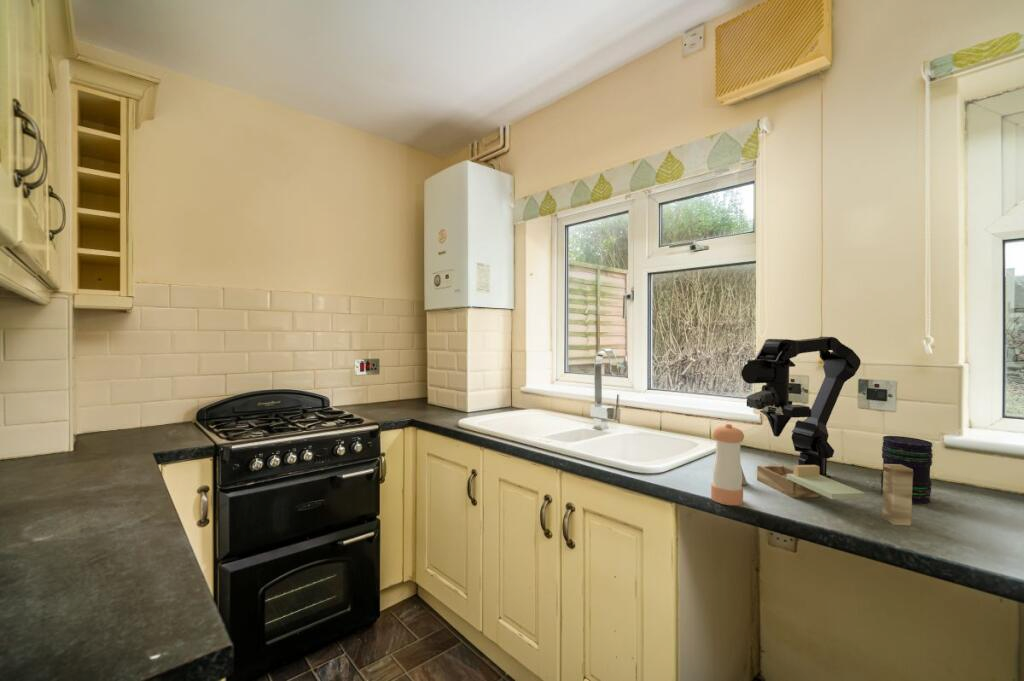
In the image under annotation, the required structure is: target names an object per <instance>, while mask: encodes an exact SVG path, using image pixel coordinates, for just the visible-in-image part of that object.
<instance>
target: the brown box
mask: <svg viewBox="0 0 1024 681" xmlns="http://www.w3.org/2000/svg"><path fill="white" fill-rule="evenodd" d="M883 470H884V472H883ZM882 472H883V495H882V500H881V501H882V502H881V503H882V505H881V508H882V509H881V518H882V519H883V520H885V521H886V522H888V523H890V524H892V525H893V526H894V525H895V526H896V525H897V526H898V525H900V526H912V507H913V506H912V505H913V504H912V483H913V469H911V468H908V467H906V466H903V465H899V464H884V466H883V465H882Z"/></svg>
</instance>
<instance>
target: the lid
mask: <svg viewBox="0 0 1024 681" xmlns="http://www.w3.org/2000/svg"><path fill="white" fill-rule="evenodd" d="M792 469H793V474H786V479H789V480H791V481H793V482H795V483H797V484H800V485H802V486H804V487H806V488H808V489H811V490H813V491H815V492H817V493H819V494H821V496H824V497H826V498H828V499H830V500H842V499H843V500H846V499H847V500H848V499H849V500H850V499H865V496H866V493H865V492H863V491H861V490H858V489H856V488H853V487H851V486H849V485H847V484H844V483H842V482H839V481H836V480H833V479H832V478H830V477H828V478H827V477H824V476H822V475H819V472H820V467H819V466H817V465H799V464H795V465H794V464H793V468H792Z"/></svg>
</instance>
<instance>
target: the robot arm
mask: <svg viewBox="0 0 1024 681" xmlns="http://www.w3.org/2000/svg"><path fill="white" fill-rule="evenodd" d="M815 352H818V353H819V358H820V359H821V360H822V361H823V362H824V363H823V364H822V368H823V372H824V376H825V377H824V379H823V381H822V383H821V384H820V385H821V386H820V387H819V390H818V391H817V392H818V393H817V394H816V396H815V399H814V402H813V403H812V406H811V408H810V406H807V405H802V404H793V400H790V398H789V397H790V391H793V386H791V385H790V368H792V367H793V368H794V367H796V364H795V363H794V362H793V361H792V360H791V359H793V358H796V357H797V356H798V355H801V354H808V353H815ZM861 363H862V362H861V358H860V357H859V356H858V354H857V353H856V352H855V351H854V350H853V349H852V348H850V347H848V346H847V345H846V344H843V343H842V342H841V341H840V340H839V339H838V338H837V337H834V336H819V337H814V338H806V339H805V338H804V339H789V338H785V339H784V338H768V339H765V341H764V343H763V345H762V347H761V348H760V350H759V352H758V353H757V354H756V357H755V358H754V359H747V363H746V364H745V365H743V367H742V369H741V372H740V373H741V378H742V380H743V381H744V382H745V383H746V384H749V385H751V384H753V385H754V384H762V386H761V390H760V391H757V392H754V393H752V394H749V395H748V396H746V407H749V408H750V409H752V408H753V409H756V410H759V412H760V413H762V414H763V415H764V416H765V417H766V419H767V420H768V423H769V425H770V428H771V432H772V434H773V436H774V437H775V438H776V437H777V438H778V437H780V436H781V434H782V432H783V431H784V429H785V427H786V426H787V424H788V423H789V421H790V420H791V419H792V418H793V419H794V418H805V419H804V420H797V421H796V422H795V423H794V424H795V425H794V427H793V429H792V430H791V433H792V434H791V440H792V446H793V448H794V451H795V452H799V458H798V465H817V466H819V467H820V472H819V475H822V476H824V477H827V478H831V475H830V474H828V473H827V468H828V466H827V463H828V459H831V458H833V456H834V453H835V450H834V448H833V447H832V446H831V444H830V443H829V442H828V439H829V431H828V428H827V425H828V421H829V419H830V417H831V414H832V413H833V410H834V408H835V407H836V406H835V405H836V403H837V401H838V398H839V395H840V394H841V391H842V388H843V386H844V385H845V382H847V381H848V380H850V379H852V377H855V375H856V374H857V372H858V370H859V368H860V366H861V365H862V364H861Z"/></svg>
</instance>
